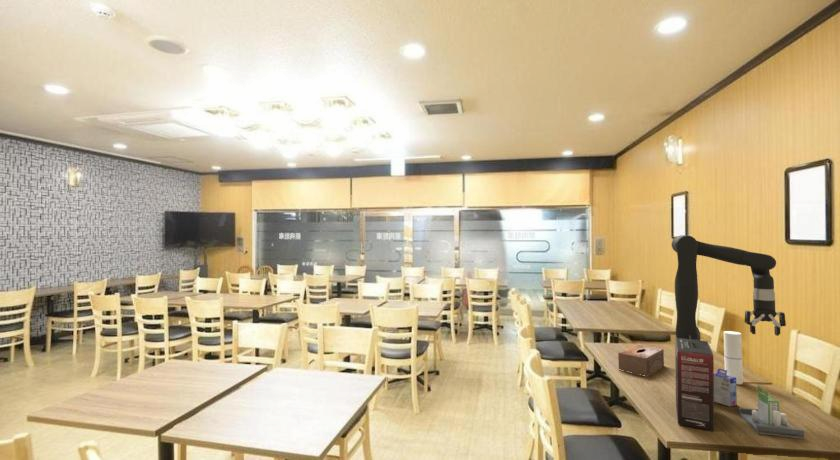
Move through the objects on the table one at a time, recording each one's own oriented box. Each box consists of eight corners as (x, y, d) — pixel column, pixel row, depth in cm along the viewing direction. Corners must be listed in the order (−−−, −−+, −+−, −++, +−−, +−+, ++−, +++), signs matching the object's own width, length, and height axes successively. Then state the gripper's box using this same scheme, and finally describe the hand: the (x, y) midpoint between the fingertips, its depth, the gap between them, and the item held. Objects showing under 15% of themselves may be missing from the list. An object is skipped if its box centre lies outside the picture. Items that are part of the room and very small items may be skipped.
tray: (757, 433, 153) (757, 411, 153) (739, 414, 169) (738, 394, 169) (804, 438, 148) (803, 416, 148) (780, 418, 164) (779, 398, 164)
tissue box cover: (646, 377, 215) (645, 358, 215) (618, 370, 226) (618, 352, 226) (663, 366, 232) (663, 348, 232) (637, 360, 243) (636, 344, 243)
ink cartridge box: (737, 405, 178) (736, 372, 178) (731, 407, 176) (730, 374, 176) (713, 397, 187) (712, 365, 187) (706, 399, 184) (705, 367, 185)
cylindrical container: (727, 383, 204) (726, 333, 204) (723, 378, 210) (721, 330, 211) (745, 385, 201) (743, 334, 201) (739, 380, 207) (738, 331, 208)
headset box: (675, 402, 181) (673, 329, 182) (710, 408, 175) (707, 332, 175) (677, 425, 160) (675, 342, 161) (717, 432, 154) (714, 346, 154)
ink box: (780, 427, 155) (779, 392, 155) (768, 426, 156) (767, 391, 156) (769, 419, 161) (768, 385, 162) (757, 418, 162) (756, 384, 163)
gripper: (748, 299, 180) (749, 335, 180) (788, 300, 176) (789, 337, 175) (741, 296, 187) (742, 331, 187) (779, 297, 183) (780, 333, 182)
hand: (765, 334), depth 181 cm, fingers open, 8 cm apart
